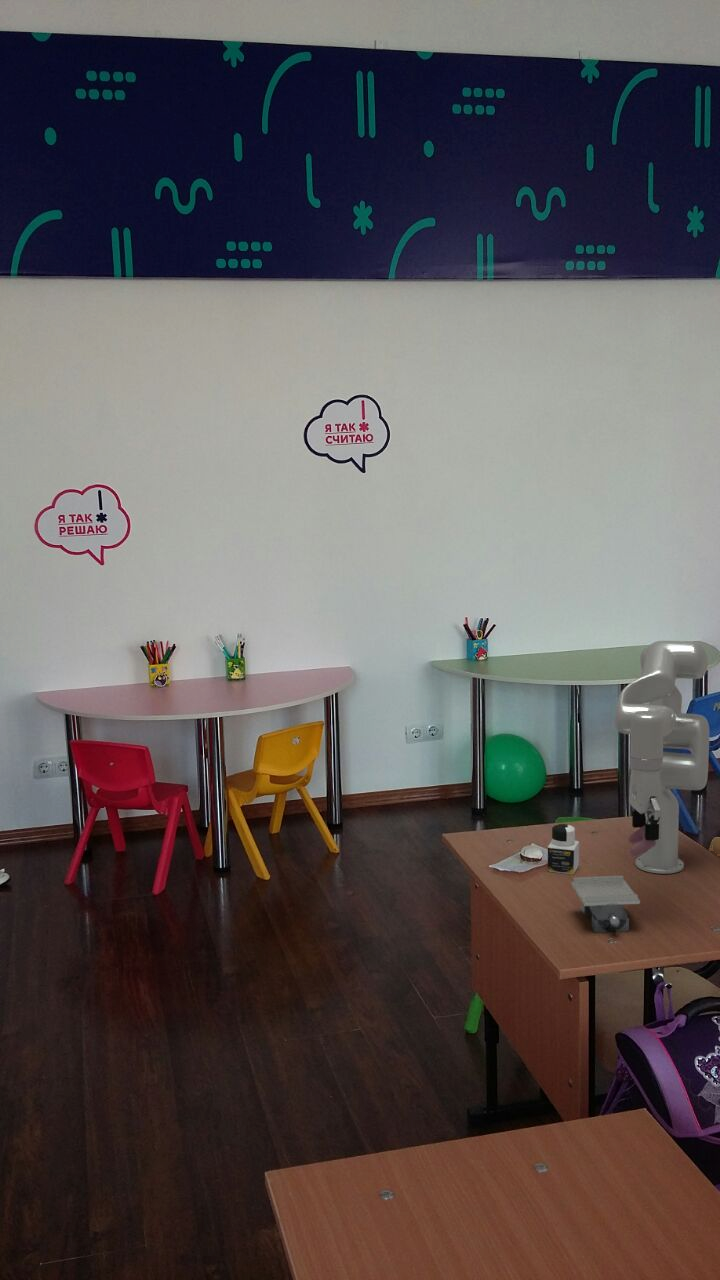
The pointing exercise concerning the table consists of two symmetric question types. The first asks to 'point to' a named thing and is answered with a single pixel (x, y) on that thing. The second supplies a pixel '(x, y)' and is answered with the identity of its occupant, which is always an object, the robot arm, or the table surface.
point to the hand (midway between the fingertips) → (645, 833)
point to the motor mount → (605, 901)
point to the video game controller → (643, 845)
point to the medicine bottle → (563, 850)
